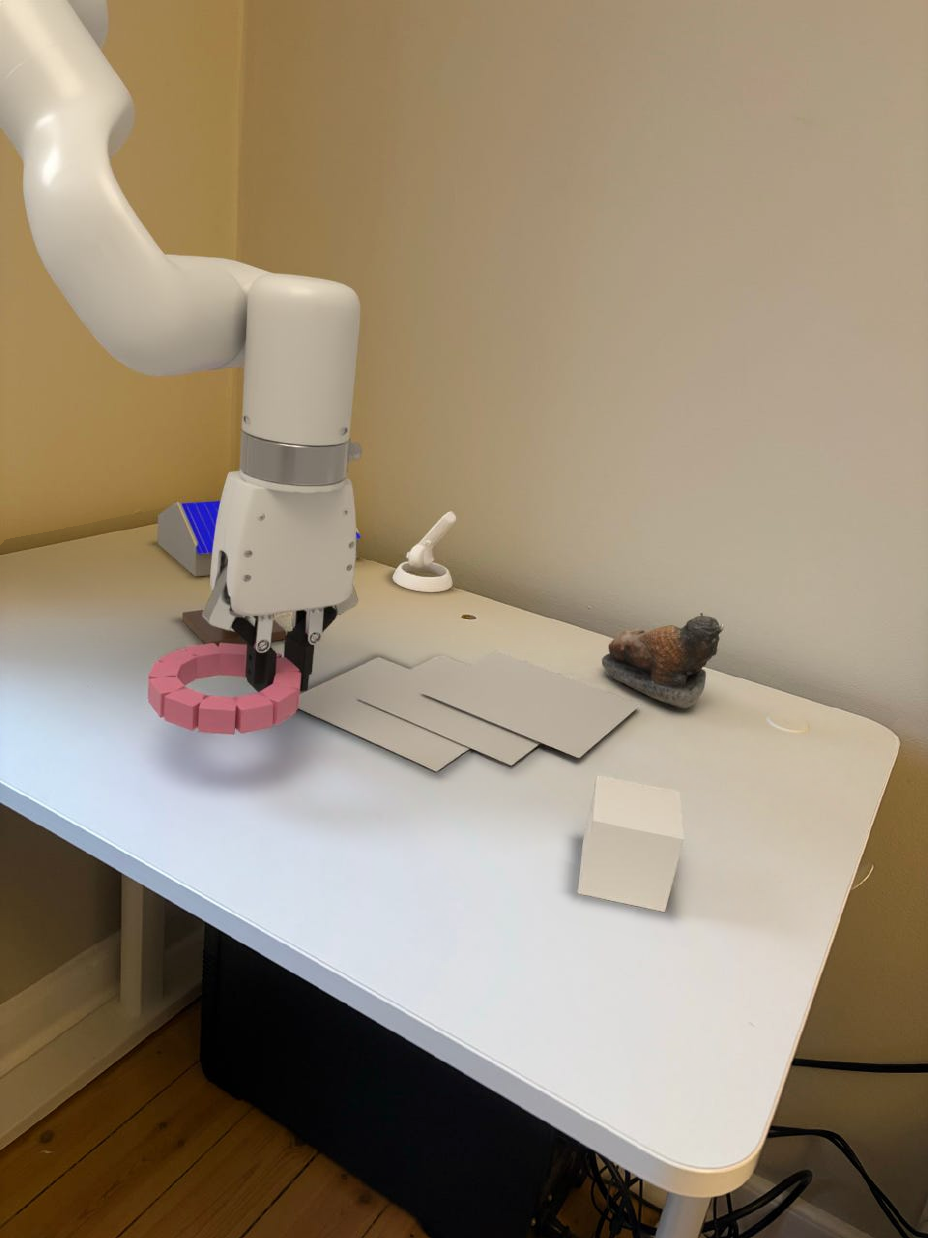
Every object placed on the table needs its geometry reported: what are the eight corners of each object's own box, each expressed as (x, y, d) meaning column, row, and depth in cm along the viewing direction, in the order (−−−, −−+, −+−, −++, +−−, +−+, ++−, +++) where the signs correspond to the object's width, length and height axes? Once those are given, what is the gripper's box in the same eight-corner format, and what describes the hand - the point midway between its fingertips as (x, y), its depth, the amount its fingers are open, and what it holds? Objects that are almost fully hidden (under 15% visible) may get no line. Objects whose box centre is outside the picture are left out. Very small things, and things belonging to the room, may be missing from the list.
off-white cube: (582, 843, 69) (596, 774, 66) (662, 860, 68) (680, 791, 66) (577, 894, 63) (593, 820, 61) (665, 913, 62) (683, 839, 60)
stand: (212, 651, 91) (214, 535, 86) (182, 620, 96) (183, 510, 92) (285, 639, 95) (292, 528, 91) (253, 611, 101) (257, 506, 97)
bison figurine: (586, 676, 96) (603, 586, 92) (629, 663, 101) (647, 577, 97) (679, 726, 88) (702, 630, 84) (720, 709, 93) (744, 618, 89)
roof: (197, 578, 108) (198, 518, 105) (155, 542, 118) (155, 486, 115) (359, 560, 121) (364, 506, 118) (309, 528, 131) (312, 478, 128)
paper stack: (524, 812, 71) (525, 804, 71) (284, 702, 83) (284, 695, 82) (639, 710, 90) (641, 704, 90) (430, 632, 101) (431, 626, 101)
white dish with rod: (475, 567, 108) (430, 526, 107) (419, 622, 115) (378, 584, 115) (496, 539, 114) (454, 500, 113) (442, 593, 121) (402, 557, 121)
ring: (181, 746, 63) (182, 721, 62) (129, 678, 71) (129, 654, 70) (324, 717, 69) (326, 693, 69) (261, 656, 77) (263, 635, 77)
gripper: (363, 444, 73) (343, 653, 80) (164, 447, 64) (160, 683, 71) (415, 470, 68) (388, 691, 75) (206, 477, 58) (198, 729, 65)
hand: (278, 685), depth 73 cm, fingers closed on ring, 2 cm apart
